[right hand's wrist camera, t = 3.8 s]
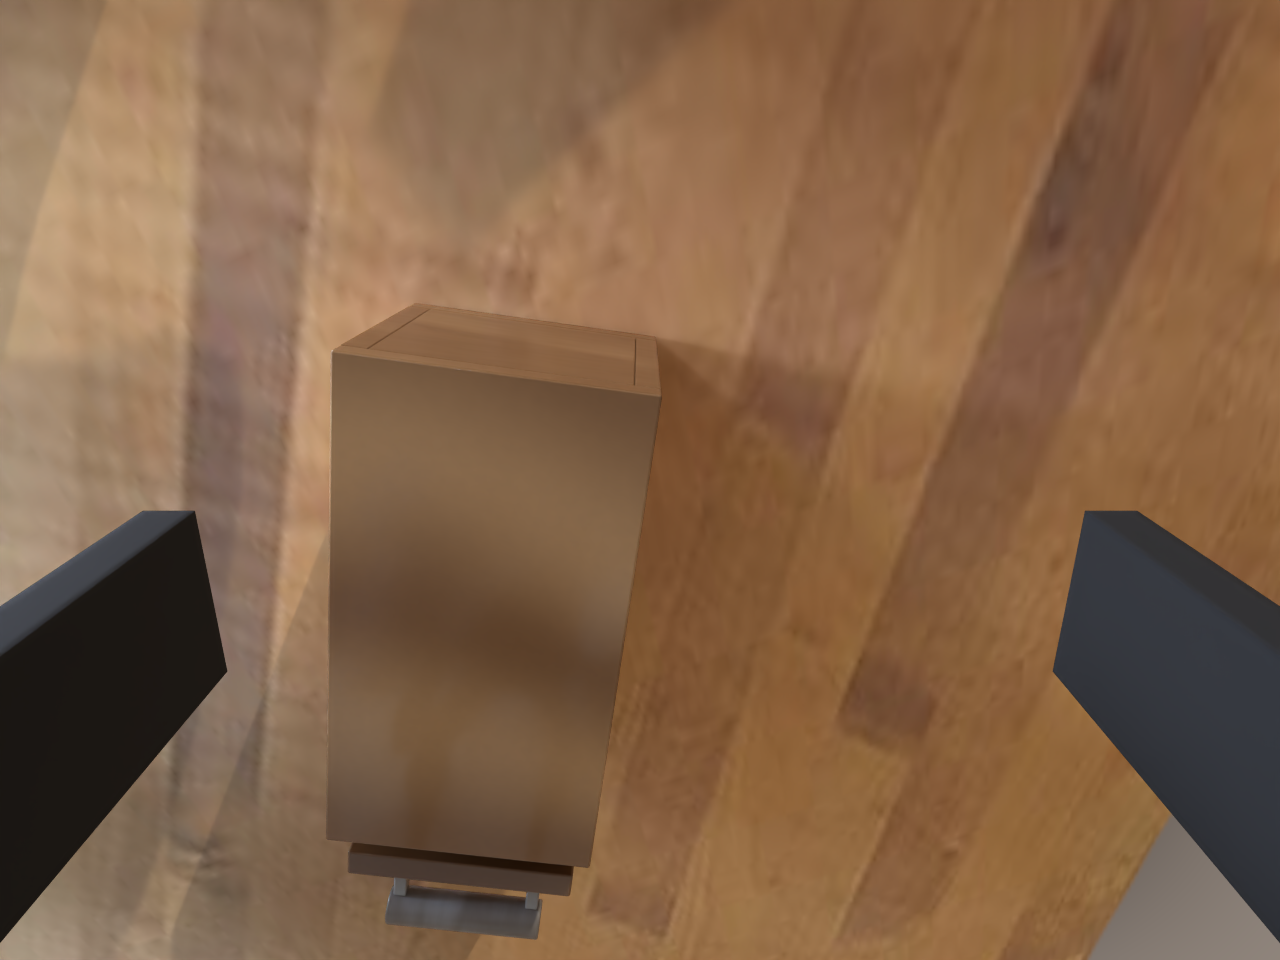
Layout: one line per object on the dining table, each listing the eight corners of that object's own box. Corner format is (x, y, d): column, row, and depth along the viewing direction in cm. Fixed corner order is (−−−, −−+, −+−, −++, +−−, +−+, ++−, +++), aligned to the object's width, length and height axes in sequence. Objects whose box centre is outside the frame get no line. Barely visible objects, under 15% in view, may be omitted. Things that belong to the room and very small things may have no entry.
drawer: (570, 846, 46) (556, 990, 38) (397, 827, 45) (345, 969, 37) (630, 423, 37) (628, 492, 29) (418, 395, 37) (356, 456, 29)
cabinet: (600, 712, 44) (589, 868, 34) (397, 688, 43) (325, 840, 34) (656, 336, 37) (662, 395, 27) (414, 302, 36) (330, 350, 26)
